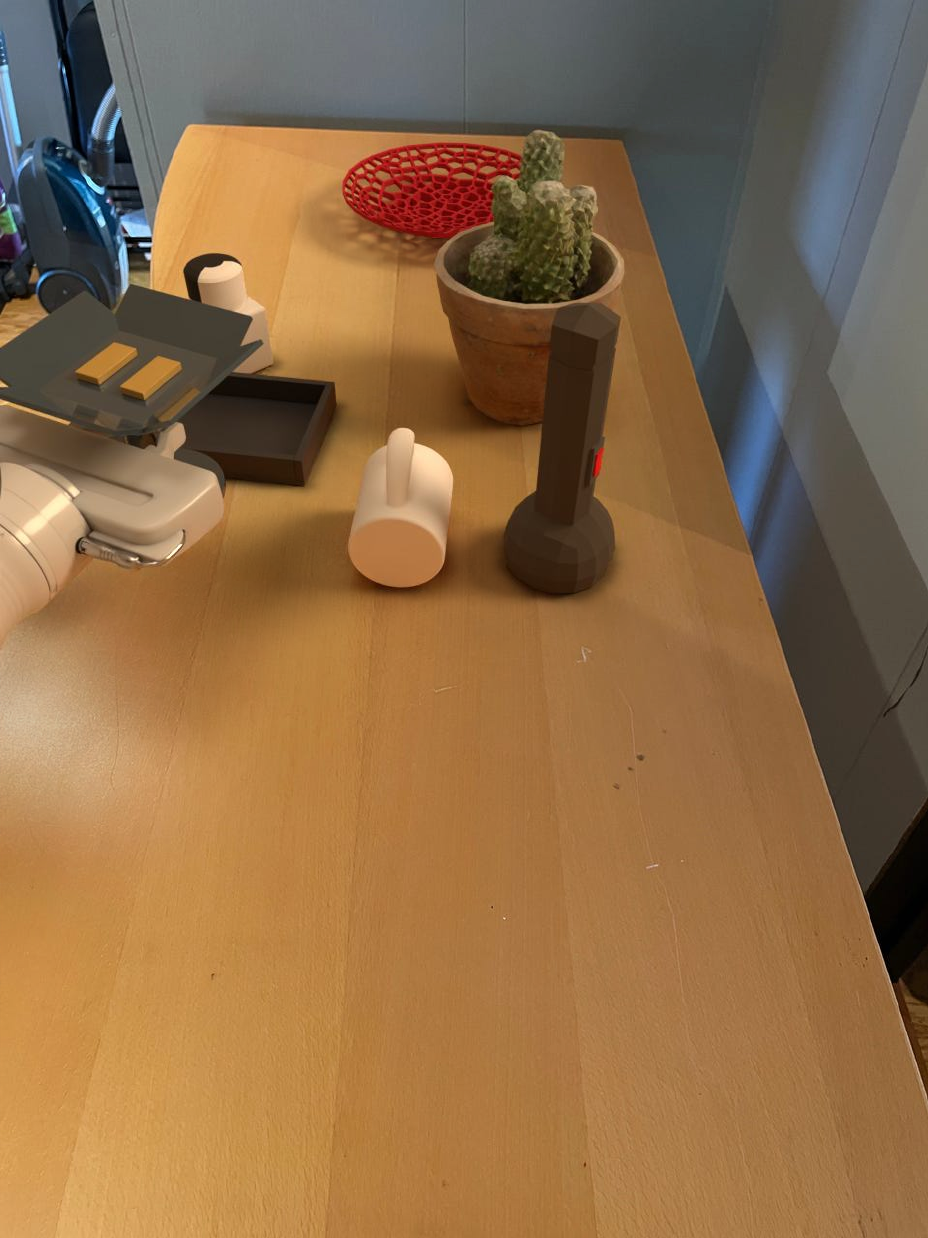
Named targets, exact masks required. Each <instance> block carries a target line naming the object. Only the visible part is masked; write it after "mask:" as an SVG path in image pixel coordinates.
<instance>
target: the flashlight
mask: <svg viewBox="0 0 928 1238" xmlns="http://www.w3.org/2000/svg"><path fill="white" fill-rule="evenodd" d="M621 319H622V317H621V316H620V315H619V314H617V313H616V312H615V311H614V310H613V311H612V310H610V309H609V308H608V307H606V306H605V305H603V304H602V303H572V304H569V305H566V306H562V307H559V308H558V309H557V312H556V315H555V317H554V320H553V323H552V327H551V337H550V348H549V350H551V352H550V355H549V359H548V369H547V380H546V391H545V401H544V412H543V422H541V424H542V425H541V432H540V433H541V434H540V435H541V436H540V444H539V445H540V446H539V456H538V465H537V475H536V476H537V478H536V487H535V490H534V491H533V492H531V493H530V494H528V495H527V496H526V497H525V498H523V499H522V500H521V501H520V503H518V504H517V505H516V506H515V507H514V508H513V510H512V512H511V514H510V516H509V518H508V519H507V523H506V527H505V530H504V533H503V549H504V556H505V562H506V566H507V567H508V568H509V570H510V571H511V572H512V574H513V575H514V577H515V578H516V579H518V580H519V581H521V582H522V583H523V584H526V585H527V586H529V587H530V588H532V589H534V590H537V591H542V592H545V593H548V594H549V593H550V594H555V595H556V594H557V595H558V594H576V593H578V592H581V591H584V590H587V589H590V588H592V587H593V586H594V585H595V584H597V583H598V582H599V581H600V580H601V579H602V578H603V577H604V575H605V573H606V571H607V569H608V566H609V565H610V562H611V560H612V557H613V555H614V552H615V550H616V536H615V534H616V533H615V528H614V522H613V518H612V517H611V515H610V513H609V510H608V509H607V508H606V507H605V505H603V503H602V502H601V501H600V500H599V498H597V497H596V496H594V495H595V489H596V483H597V482H596V481H597V479H598V477H599V475H600V472H601V471H602V461H603V454H604V450H605V447H604V446H605V441H606V437H605V436H603V435H604V430H605V429H604V428H605V422H606V415H607V411H608V410H607V409H608V405H609V404H608V403H609V398H610V389H611V385H612V383H611V382H612V378H613V371H614V363H615V356H616V351H617V348H616V346H617V343H618V339H619V338H618V337H619V331H620V325H621Z"/></svg>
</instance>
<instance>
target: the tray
mask: <svg viewBox="0 0 928 1238" xmlns="http://www.w3.org/2000/svg"><path fill="white" fill-rule="evenodd" d="M336 392H337V391H336V382H335V381H329V380H319V379H308V378H301V377H300V378H298V377H288V376H279V375H278V376H277V375H269V374H257V373H252V374H248V373H238V372H232V373H230V374H229V375H228V376H227V377H226V378H225V379H224V380H223V381H221V382H220V383H219V384H218V385H217V386H216V387H215V388H214V389H212V390H211V391H210V392H209V393H208V394H207V395H206V396H205V397H203V398H202V399H201V400H200V401H199V402H198V403H197V404H196V405H194V406H193V407H192V408H191V409H190V410H189V411H188V412H187V413H185V414H184V415H183V416H182V417H181V418H180V419H179V420H178V421H176V422H178V423H181V424H183V426H184V430H185V435H186V440H185V442H184V444H182V445H181V446H180V447H179V448H183V449H189V450H194V451H197V452H200V453H203V454H205V455H207V456H209V457H210V458H212V459H213V460H214V461H215V462H216V463H217V464H218V465H219V466H220V468H221V469H222V471H223V473H224V478H226V479H234V480H235V479H236V480H246V481H255V482H265V483H272V484H273V483H274V484H281V485H282V484H283V485H292V486H301V487H302V486H303V487H305V486H306V484H307V482H308V479H309V477H310V474H311V472H312V469H313V466H314V465H315V462H316V459H317V457H318V455H319V452H320V449H321V447H322V445H323V443H324V440H325V437H326V434H327V432H328V430H329V428H330V425H331V422H332V420H333V417H334V415H335V413H336V410H337V408H338V403H337V393H336ZM108 438H110V439H113V440H116V441H119V442H122V443H125V444H127V443H126V440H125V436H124V437H121V436H111V437H108Z"/></svg>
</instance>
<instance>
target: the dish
mask: <svg viewBox="0 0 928 1238" xmlns="http://www.w3.org/2000/svg"><path fill="white" fill-rule="evenodd" d="M252 320H253V318H252V317H251V316H249V315H245V314H241V313H238V312H234V311H230V310H226V309H223V308H219V307H215V306H212V305H208V304H204V303H200V302H197V301H193V300H189V298H185V297H182V296H178V295H174V294H171V293H167V292H163V291H159V290H156V289H152V288H149V287H144V286H141V285H138V284H134V283H129V285H128V286H127V288H126V290H125V293H124V295H123V296H122V299H121V300H120V302H119V305H118V306H117V308H116V311H115V312H113V311H112V310H110V309H109V308H108V307H107V306H105V305H104V304H103V303H102V302H101V301H99V300H98V299H97V298H95V296H94V295H92V294H91V293H89V292H88V291H86V290H83V291H82V292H80V293H79V294H77V295H76V296H74V297H72V298H71V299H69V301H67V302H66V303H64V304H62V305H61V306H59V307H58V308H57V309H55V310H53V311H52V312H51V313H49V314H47V315H46V316H45V317H43V318H42V319H40V320H39V321H37V322H36V323H35V324H33V325H32V326H30V327H29V328H27V329H25V330H24V331H23V332H21V333H19V334H18V335H17V336H15V337H13V338H12V339H11V340H9V341H7V342H6V343H5V344H3V345H2V346H0V383H3V384H4V385H5V386H0V400H1V401H4V402H8V403H9V404H10V403H11V404H14V405H16V406H19V407H23V408H26V409H29V410H31V411H34V412H38V413H41V414H45V415H47V416H51V417H53V418H57V419H59V420H63V421H65V422H69V423H71V422H72V423H75V424H78V425H81V426H84V427H87V428H90V429H93V430H97V431H100V432H103V433H106V434H109V435H112V436H125V440H126V443H127V444H129V445H132V446H135V447H138V448H141V449H145V448H146V447H147V446H148V445H154V446H155V447H157V445H156V442H155V441H156V438H155V437H154V435H153V433H155V430H158V429H162V428H165V427H168V426H171V425H173V424H174V423H175V422H176V421H178V420H179V419H180V418H181V417H182V416H183V415H184V414H185V413H187V412H188V411H189V410H190V409H191V408H192V407H193V406H194V405H196V404H197V403H198V402H199V401H200V400H201V399H202V398H203V397H205V396H206V395H207V394H208V393H209V392H210V391H211V390H212V389H214V388H215V387H216V386H217V385H218V384H219V383H220V382H221V381H223V380H224V379H225V378H226V377H227V376H228V375H229V374H230V373H232V372H233V371H234V370H235V369H236V368H237V367H238V366H239V365H241V364H242V363H243V362H244V361H245V360H246V359H247V358H248V357H250V356H251V355H252V354H253V353H254V352H255V351H256V350H257V349H259V348H260V347H261V346H262V345H263V344H264V343H263V341H262V340H261V339H260V340H257V341H254V342H251V343H249V344H246V345H243V346H241V344H242V342H243V339H244V337H245V335H246V333H247V331H248V329H249V327H250V324H251V322H252ZM114 342H115V343H119V344H122V345H126V346H129V347H133V348H136V351H137V354H138V355H137V356H136V357H135V358H134V359H132V360H131V361H130V362H128V363H127V364H126V365H125V366H123V367H122V368H121V369H119V370H118V371H117V372H116V373H114V374H113V375H112V376H110V377H109V378H108V379H107V380H105V381H104V382H103V383H102V384H100V385H97V384H93V383H90V382H87V381H84V380H80V379H77V377H76V374H75V371H76V370H78V369H79V368H80V367H82V366H83V365H84V364H86V363H87V362H88V361H90V360H91V359H92V358H94V357H95V356H96V355H98V354H99V353H100V352H102V351H103V350H104V349H106V348H107V347H108V346H110V345H111V344H112V343H114ZM157 356H160V357H164V358H167V359H171V360H174V361H177V362H180V363H181V367H182V370H180V371H179V372H178V373H177V374H176V375H174V376H173V377H172V378H171V379H170V380H168V381H167V382H166V383H165V384H164V385H162V386H161V387H160V388H159V389H158V390H156V391H155V392H154V393H153V394H152V395H150V396H149V397H148V398H147V399H146V400H142V399H138V398H135V397H132V396H129V395H125V394H122V393H121V390H120V386H121V385H122V384H123V383H125V382H126V381H127V380H128V379H130V378H131V377H132V376H133V375H135V374H136V373H137V372H138V371H140V370H141V369H142V368H143V367H145V366H146V365H147V364H148V363H150V362H151V361H152V360H153V359H155V358H156V357H157ZM174 459H175V460H178V461H181V462H184V463H187V464H190V465H193V466H196V467H199V468H203V469H206V470H209V471H211V472H213V473H214V474H215V475H216V477H217V479H218V482H219V485H220V489H221V492H222V497H223V499H224V498H225V495H226V491H227V483H226V479H225V477H224V473H223V471H222V469H221V468H220V466H219V465H218V464H217V463H216V462H215V461H214V460H213V459H212V458H210V457H209V456H207V455H205V454H203V453H200V452H197V451H194V450H189V449H183V448H178V449H177V450H176V451H175V452H174Z"/></svg>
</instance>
